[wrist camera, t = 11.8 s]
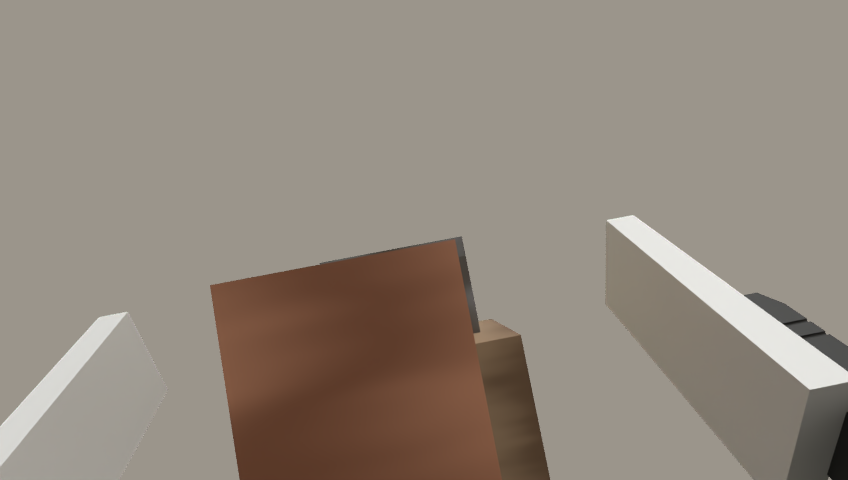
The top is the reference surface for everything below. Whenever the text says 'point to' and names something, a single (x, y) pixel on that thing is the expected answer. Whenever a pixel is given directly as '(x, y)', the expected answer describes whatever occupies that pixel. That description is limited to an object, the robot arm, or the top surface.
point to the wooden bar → (356, 371)
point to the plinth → (503, 389)
